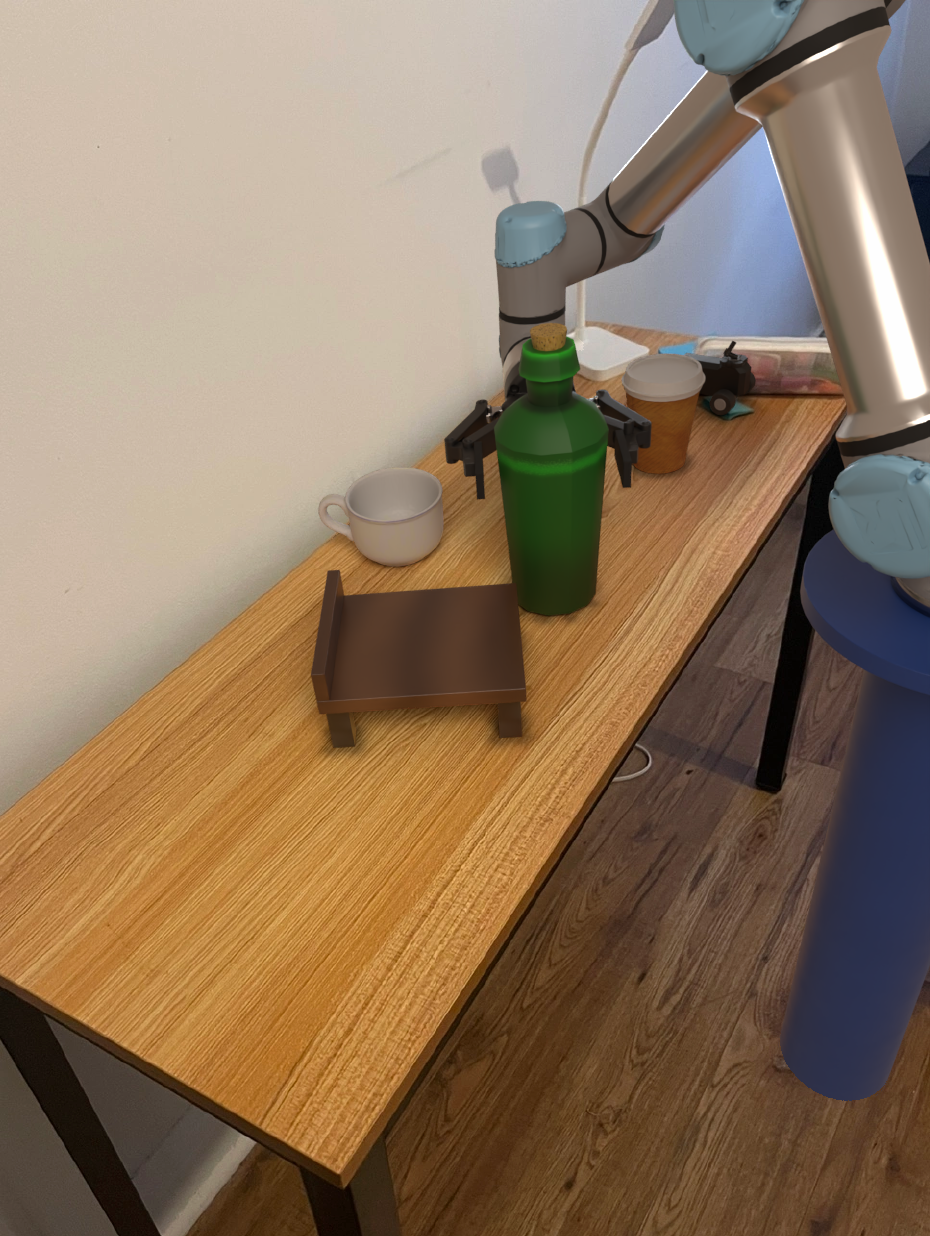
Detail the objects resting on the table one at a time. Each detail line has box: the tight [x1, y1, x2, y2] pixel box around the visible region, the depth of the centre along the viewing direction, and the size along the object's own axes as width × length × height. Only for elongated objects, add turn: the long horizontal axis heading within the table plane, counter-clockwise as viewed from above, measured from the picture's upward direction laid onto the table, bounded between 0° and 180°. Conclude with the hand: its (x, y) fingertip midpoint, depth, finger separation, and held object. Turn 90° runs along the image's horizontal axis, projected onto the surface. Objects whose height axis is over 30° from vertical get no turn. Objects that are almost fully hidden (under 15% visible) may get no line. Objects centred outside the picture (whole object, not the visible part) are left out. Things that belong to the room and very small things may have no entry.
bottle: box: [494, 323, 609, 616], centre depth 98 cm, size 11×11×28 cm
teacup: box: [317, 466, 445, 567], centre depth 114 cm, size 14×11×8 cm
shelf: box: [310, 569, 528, 749], centre depth 94 cm, size 18×16×9 cm
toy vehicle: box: [683, 340, 757, 416], centre depth 135 cm, size 8×15×9 cm, turn 53°
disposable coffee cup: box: [621, 353, 705, 475], centre depth 122 cm, size 10×10×12 cm
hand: (553, 480), depth 95 cm, fingers open, 13 cm apart
